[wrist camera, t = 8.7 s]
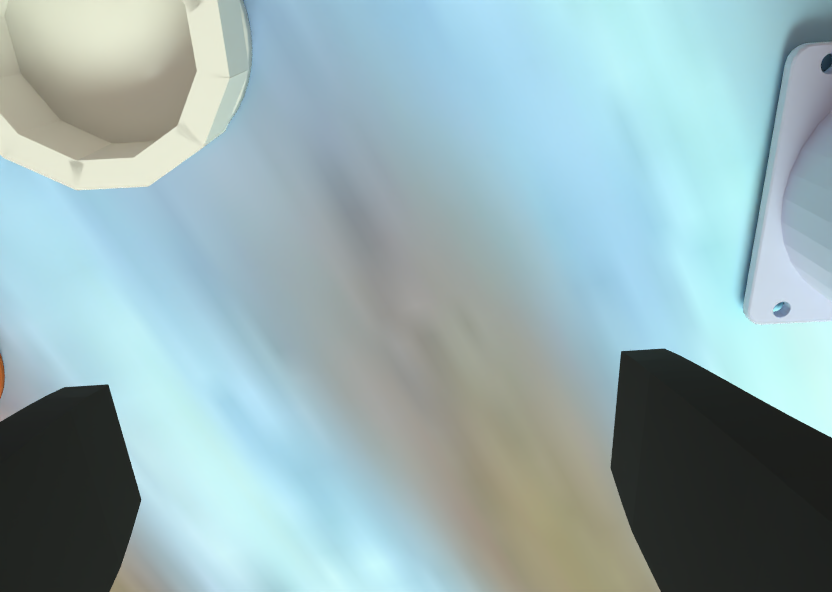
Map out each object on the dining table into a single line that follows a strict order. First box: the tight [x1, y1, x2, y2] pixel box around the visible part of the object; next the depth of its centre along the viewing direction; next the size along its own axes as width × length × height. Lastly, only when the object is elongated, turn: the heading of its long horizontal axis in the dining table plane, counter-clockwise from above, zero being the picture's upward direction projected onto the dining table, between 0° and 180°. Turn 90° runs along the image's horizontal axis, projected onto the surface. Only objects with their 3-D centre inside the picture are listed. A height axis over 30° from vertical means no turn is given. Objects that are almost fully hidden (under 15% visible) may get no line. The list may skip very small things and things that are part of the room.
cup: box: [0, 0, 252, 190], centre depth 16 cm, size 6×6×3 cm
